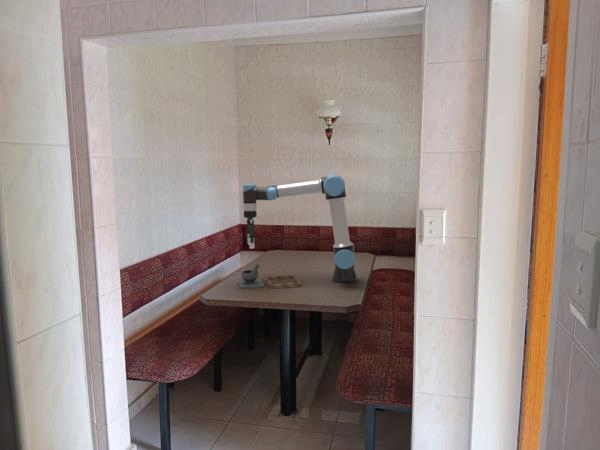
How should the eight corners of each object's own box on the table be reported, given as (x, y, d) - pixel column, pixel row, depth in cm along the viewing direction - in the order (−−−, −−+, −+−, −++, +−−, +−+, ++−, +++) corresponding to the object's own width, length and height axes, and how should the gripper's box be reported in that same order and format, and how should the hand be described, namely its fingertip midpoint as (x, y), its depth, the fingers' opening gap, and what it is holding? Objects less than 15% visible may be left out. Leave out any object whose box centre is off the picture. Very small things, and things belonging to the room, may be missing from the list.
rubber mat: (261, 280, 282) (261, 279, 282) (264, 287, 267) (264, 285, 267) (238, 282, 280) (238, 280, 280) (239, 288, 264) (239, 287, 264)
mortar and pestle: (240, 285, 269) (239, 264, 267) (242, 281, 278) (242, 261, 276) (259, 285, 268) (259, 264, 267) (261, 281, 278) (260, 261, 276)
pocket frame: (295, 277, 289) (295, 274, 289) (301, 286, 268) (301, 283, 267) (265, 279, 286) (264, 276, 286) (269, 288, 264) (269, 285, 264)
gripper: (242, 208, 280) (243, 243, 283) (245, 212, 256) (246, 250, 258) (254, 208, 282) (255, 242, 284) (258, 212, 257) (259, 249, 260)
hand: (251, 246), depth 271 cm, fingers open, 13 cm apart
